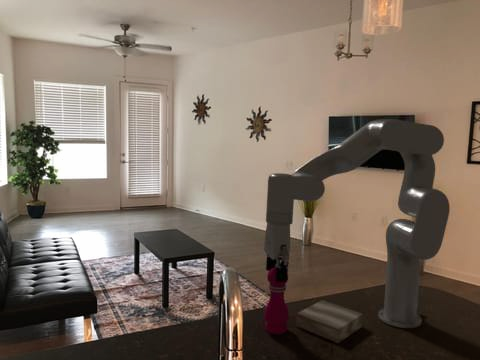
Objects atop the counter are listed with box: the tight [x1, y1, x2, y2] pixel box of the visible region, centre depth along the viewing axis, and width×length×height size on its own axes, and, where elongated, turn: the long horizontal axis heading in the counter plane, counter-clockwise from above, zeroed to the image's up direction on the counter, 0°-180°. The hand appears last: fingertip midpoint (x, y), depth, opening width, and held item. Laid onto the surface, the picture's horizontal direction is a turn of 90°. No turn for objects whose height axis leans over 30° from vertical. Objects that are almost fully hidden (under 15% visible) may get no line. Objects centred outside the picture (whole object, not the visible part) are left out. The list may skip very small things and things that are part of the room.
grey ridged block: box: [295, 299, 364, 344], centre depth 123 cm, size 14×14×4 cm
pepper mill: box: [263, 263, 290, 335], centre depth 119 cm, size 7×7×20 cm
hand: (276, 275), depth 119 cm, fingers open, 9 cm apart
